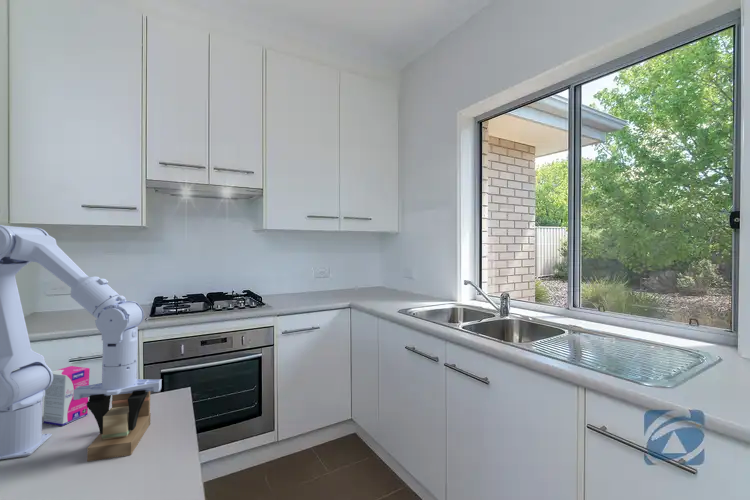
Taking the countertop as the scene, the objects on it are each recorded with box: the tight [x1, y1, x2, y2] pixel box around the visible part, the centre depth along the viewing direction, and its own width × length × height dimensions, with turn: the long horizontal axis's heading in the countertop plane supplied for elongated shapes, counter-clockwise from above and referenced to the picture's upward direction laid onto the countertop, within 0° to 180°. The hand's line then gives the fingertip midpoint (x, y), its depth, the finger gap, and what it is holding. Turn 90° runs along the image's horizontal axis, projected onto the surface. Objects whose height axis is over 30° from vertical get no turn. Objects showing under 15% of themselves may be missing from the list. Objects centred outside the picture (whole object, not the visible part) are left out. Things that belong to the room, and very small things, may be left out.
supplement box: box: [42, 365, 91, 427], centre depth 82 cm, size 6×6×12 cm
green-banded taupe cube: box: [102, 406, 130, 440], centre depth 71 cm, size 4×4×4 cm
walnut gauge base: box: [86, 391, 152, 462], centre depth 73 cm, size 7×13×9 cm, turn 19°
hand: (118, 429), depth 71 cm, fingers closed on green-banded taupe cube, 4 cm apart
